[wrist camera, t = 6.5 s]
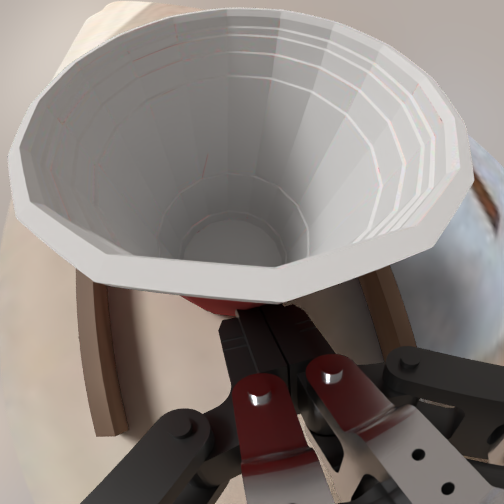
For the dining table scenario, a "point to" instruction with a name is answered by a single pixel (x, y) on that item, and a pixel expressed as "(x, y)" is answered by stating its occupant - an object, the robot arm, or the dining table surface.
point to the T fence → (102, 355)
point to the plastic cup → (239, 158)
